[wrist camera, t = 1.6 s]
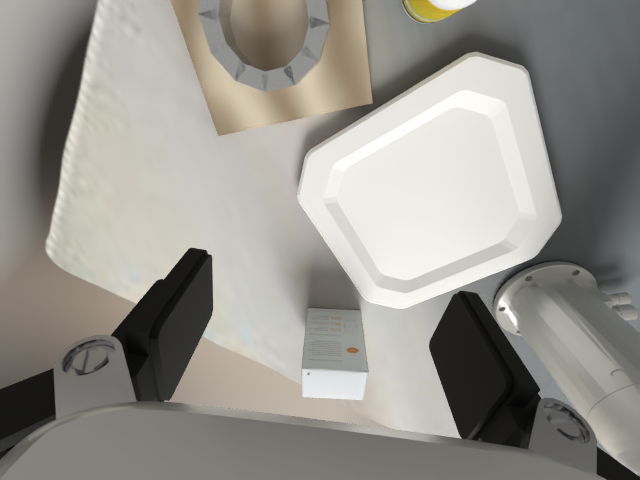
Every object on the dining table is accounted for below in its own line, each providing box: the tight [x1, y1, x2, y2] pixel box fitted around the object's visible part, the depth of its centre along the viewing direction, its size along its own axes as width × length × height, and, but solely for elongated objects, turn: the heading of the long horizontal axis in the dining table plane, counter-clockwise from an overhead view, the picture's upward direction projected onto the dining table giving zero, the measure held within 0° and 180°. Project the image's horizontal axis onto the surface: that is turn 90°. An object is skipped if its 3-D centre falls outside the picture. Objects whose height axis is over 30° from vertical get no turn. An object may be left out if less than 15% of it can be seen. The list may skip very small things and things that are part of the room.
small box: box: [302, 308, 369, 400], centre depth 40 cm, size 8×6×10 cm
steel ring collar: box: [198, 0, 330, 92], centre depth 25 cm, size 10×10×3 cm
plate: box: [297, 52, 562, 309], centre depth 34 cm, size 25×25×2 cm
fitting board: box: [171, 0, 373, 136], centre depth 26 cm, size 16×16×1 cm
